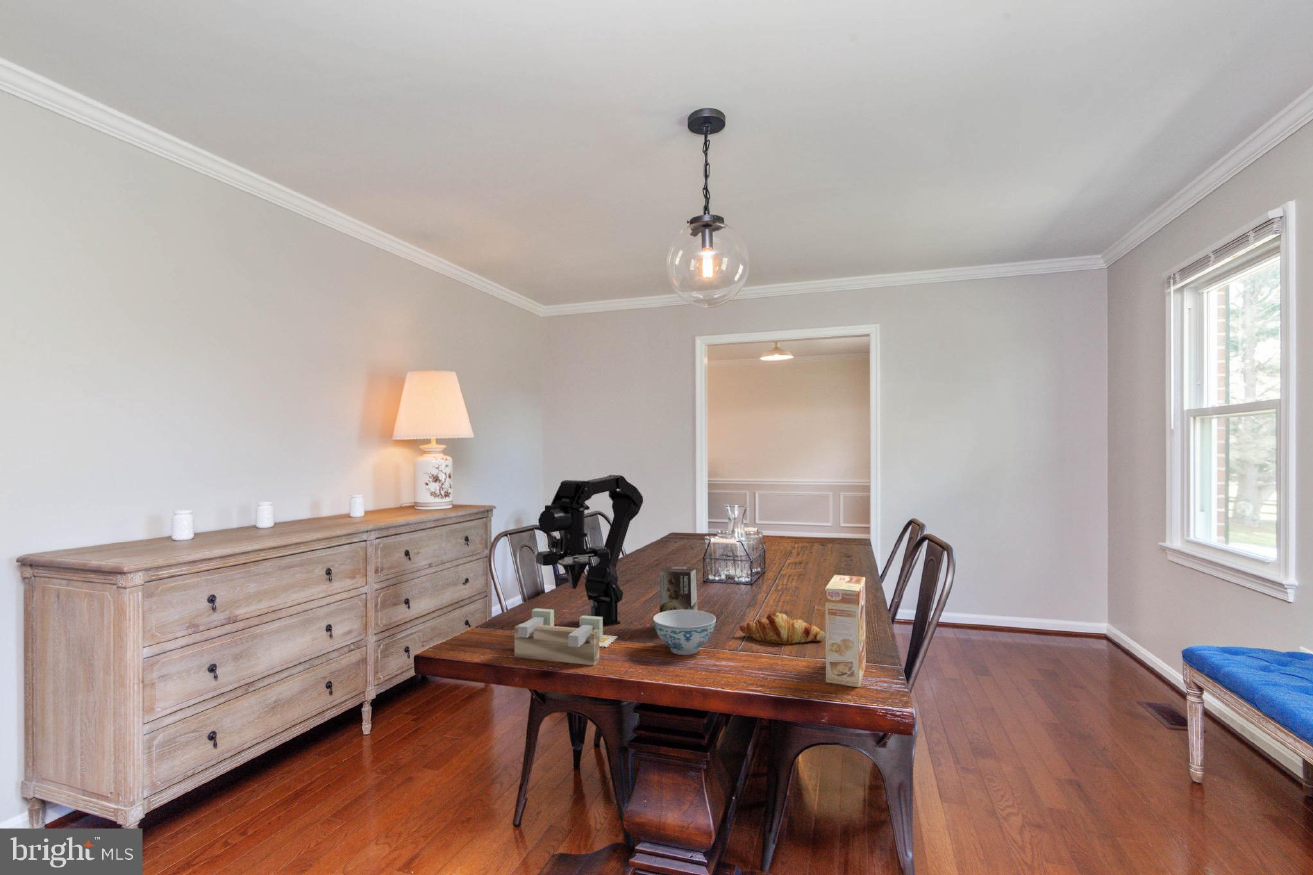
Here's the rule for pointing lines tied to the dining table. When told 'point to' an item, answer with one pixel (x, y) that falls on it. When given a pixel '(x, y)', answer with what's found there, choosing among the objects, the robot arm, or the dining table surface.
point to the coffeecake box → (845, 630)
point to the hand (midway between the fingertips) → (573, 588)
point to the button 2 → (585, 630)
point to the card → (606, 640)
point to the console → (556, 646)
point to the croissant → (781, 630)
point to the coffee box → (678, 588)
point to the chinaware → (684, 629)
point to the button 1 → (536, 621)
